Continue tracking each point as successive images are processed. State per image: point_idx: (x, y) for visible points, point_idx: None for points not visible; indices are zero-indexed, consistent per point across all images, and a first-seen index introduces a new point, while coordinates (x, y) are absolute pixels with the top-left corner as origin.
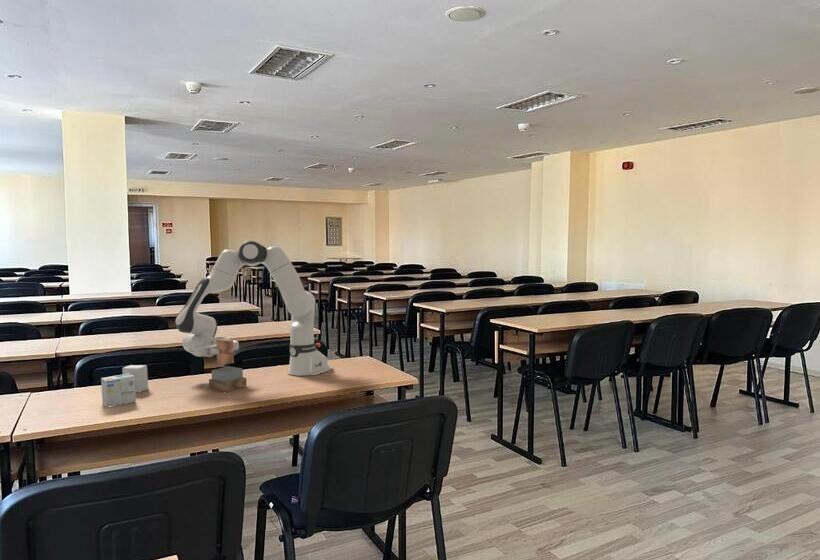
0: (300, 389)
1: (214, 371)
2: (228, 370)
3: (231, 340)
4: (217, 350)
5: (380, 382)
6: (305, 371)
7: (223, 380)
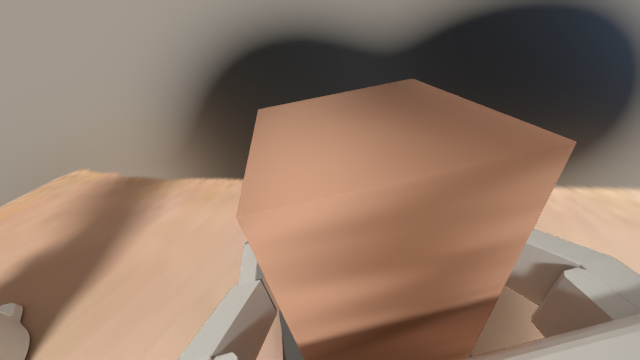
0: (215, 203)
1: (470, 356)
2: None
3: (290, 107)
4: None
5: (106, 176)
6: (5, 323)
7: None
